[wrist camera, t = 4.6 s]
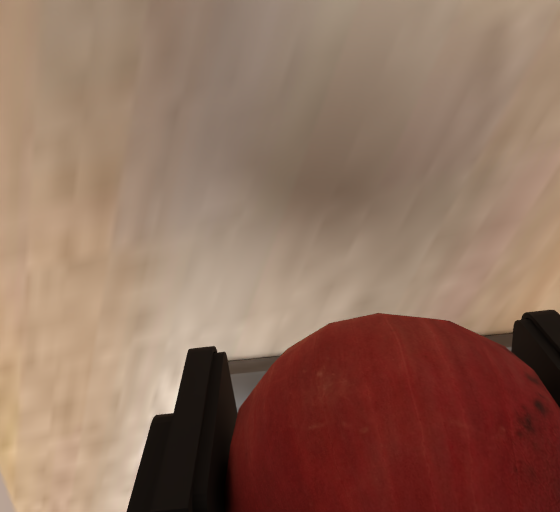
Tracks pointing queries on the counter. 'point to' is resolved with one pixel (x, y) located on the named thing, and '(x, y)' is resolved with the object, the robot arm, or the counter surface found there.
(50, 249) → the counter surface
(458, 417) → the pomegranate
